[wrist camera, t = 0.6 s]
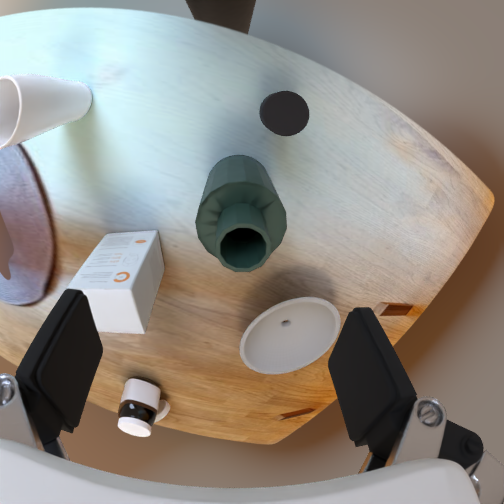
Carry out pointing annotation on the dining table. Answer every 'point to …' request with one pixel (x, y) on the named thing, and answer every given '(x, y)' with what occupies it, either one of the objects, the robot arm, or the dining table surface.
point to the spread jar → (141, 406)
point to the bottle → (240, 214)
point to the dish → (290, 335)
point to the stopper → (284, 113)
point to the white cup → (38, 105)
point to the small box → (122, 281)
